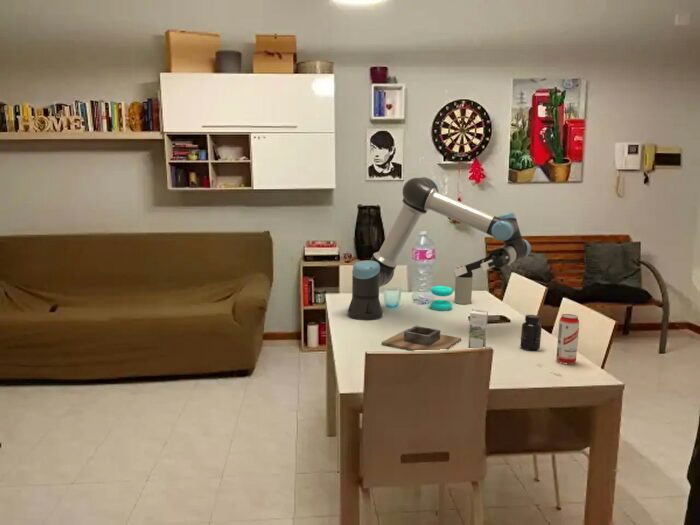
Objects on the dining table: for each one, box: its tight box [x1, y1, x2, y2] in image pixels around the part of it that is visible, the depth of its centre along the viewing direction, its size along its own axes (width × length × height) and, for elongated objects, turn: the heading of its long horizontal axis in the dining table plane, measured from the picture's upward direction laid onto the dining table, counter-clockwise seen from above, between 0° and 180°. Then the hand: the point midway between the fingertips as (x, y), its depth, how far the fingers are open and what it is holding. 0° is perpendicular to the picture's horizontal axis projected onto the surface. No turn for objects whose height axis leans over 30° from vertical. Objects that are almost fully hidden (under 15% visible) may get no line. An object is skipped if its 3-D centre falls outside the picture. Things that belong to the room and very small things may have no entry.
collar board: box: [381, 325, 462, 351], centre depth 206 cm, size 22×22×4 cm
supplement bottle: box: [520, 314, 542, 352], centre depth 201 cm, size 7×7×12 cm
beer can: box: [555, 313, 580, 365], centre depth 187 cm, size 6×6×16 cm
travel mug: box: [454, 264, 473, 305], centre depth 269 cm, size 8×8×18 cm
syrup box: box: [467, 308, 489, 349], centre depth 197 cm, size 6×6×14 cm
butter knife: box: [536, 363, 563, 377], centre depth 186 cm, size 1×24×3 cm
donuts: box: [430, 285, 454, 311], centre depth 258 cm, size 10×10×10 cm
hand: (467, 270), depth 207 cm, fingers open, 13 cm apart
